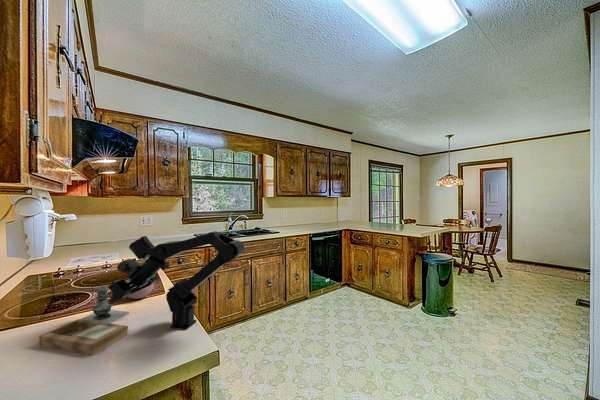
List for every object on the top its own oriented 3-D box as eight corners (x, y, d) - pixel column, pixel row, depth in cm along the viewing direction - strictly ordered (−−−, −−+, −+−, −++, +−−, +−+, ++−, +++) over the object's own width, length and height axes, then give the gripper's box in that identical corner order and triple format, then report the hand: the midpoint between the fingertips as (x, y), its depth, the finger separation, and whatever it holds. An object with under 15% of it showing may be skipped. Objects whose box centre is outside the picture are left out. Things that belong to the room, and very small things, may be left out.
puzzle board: (127, 334, 86) (127, 324, 86) (93, 355, 75) (93, 343, 75) (78, 327, 90) (78, 318, 90) (39, 345, 79) (39, 334, 79)
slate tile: (129, 313, 102) (129, 311, 102) (99, 328, 90) (99, 326, 90) (103, 310, 104) (103, 308, 104) (71, 324, 92) (71, 322, 92)
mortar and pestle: (151, 291, 126) (151, 267, 126) (156, 299, 116) (156, 273, 116) (121, 296, 118) (121, 271, 118) (123, 305, 109) (124, 278, 109)
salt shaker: (95, 322, 93) (96, 288, 93) (89, 317, 96) (90, 284, 96) (114, 316, 98) (115, 284, 98) (108, 312, 101) (108, 281, 101)
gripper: (151, 247, 105) (125, 274, 106) (113, 258, 87) (83, 290, 88) (169, 268, 104) (143, 294, 105) (135, 283, 86) (104, 314, 87)
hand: (120, 297), depth 96 cm, fingers open, 9 cm apart
